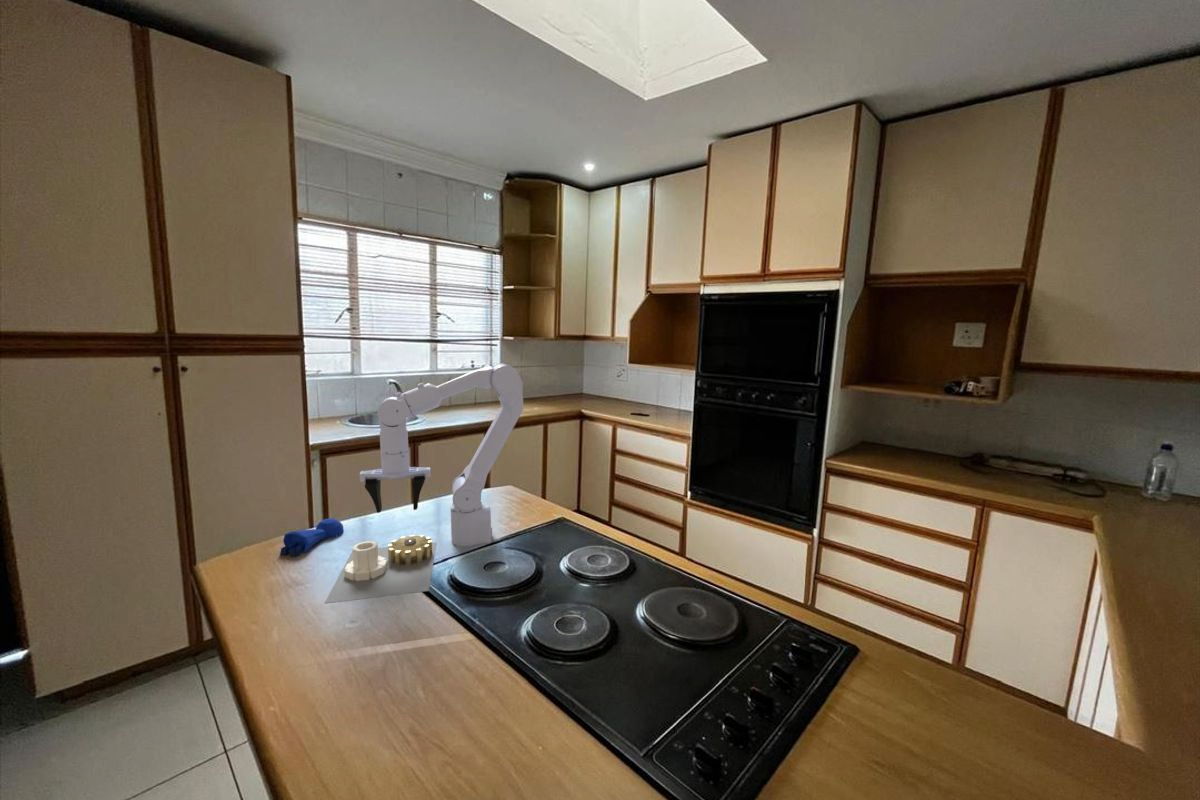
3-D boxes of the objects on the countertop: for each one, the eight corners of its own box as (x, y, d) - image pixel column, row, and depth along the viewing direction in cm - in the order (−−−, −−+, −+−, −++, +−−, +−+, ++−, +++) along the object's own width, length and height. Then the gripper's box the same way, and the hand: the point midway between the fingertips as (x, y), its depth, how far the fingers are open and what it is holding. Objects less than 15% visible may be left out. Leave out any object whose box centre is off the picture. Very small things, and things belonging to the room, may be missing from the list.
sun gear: (433, 545, 112) (433, 530, 112) (430, 563, 103) (430, 547, 103) (392, 549, 110) (391, 534, 109) (385, 567, 101) (384, 551, 101)
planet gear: (389, 560, 104) (388, 536, 104) (382, 578, 97) (381, 552, 96) (351, 564, 102) (349, 539, 102) (341, 582, 95) (339, 556, 94)
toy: (301, 564, 105) (351, 534, 120) (298, 538, 104) (349, 510, 119) (276, 560, 107) (328, 531, 121) (272, 534, 106) (325, 508, 120)
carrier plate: (436, 545, 114) (436, 542, 114) (428, 594, 93) (428, 590, 93) (352, 553, 109) (352, 550, 109) (324, 607, 88) (324, 603, 88)
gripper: (355, 457, 102) (358, 519, 104) (427, 454, 105) (429, 513, 107) (362, 449, 108) (365, 507, 110) (430, 446, 112) (432, 502, 114)
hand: (397, 509), depth 109 cm, fingers open, 7 cm apart
